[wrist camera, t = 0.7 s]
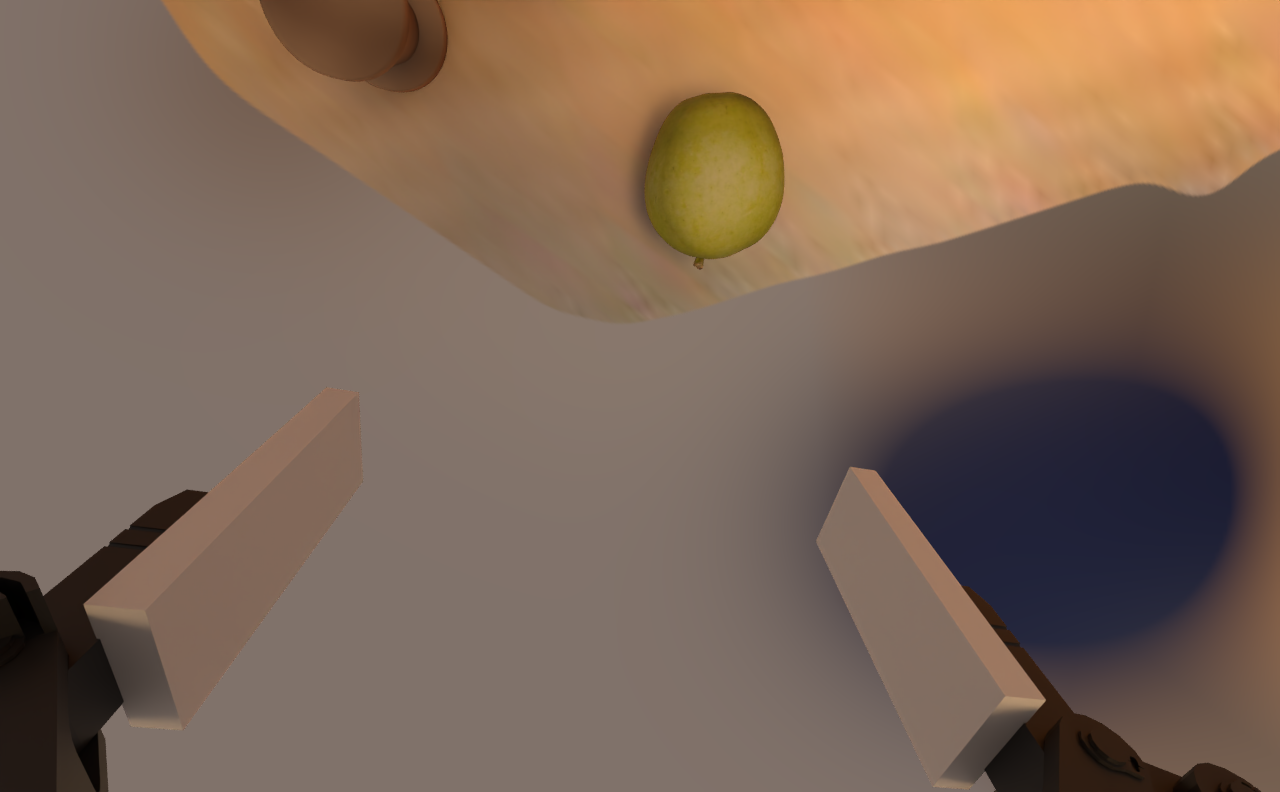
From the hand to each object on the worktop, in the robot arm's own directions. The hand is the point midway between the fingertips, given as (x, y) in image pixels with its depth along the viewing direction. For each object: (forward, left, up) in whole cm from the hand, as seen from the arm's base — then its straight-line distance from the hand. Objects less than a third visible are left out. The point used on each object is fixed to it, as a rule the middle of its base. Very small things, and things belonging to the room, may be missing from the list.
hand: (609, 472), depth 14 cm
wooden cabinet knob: (-11, -15, -24) cm, 30 cm away
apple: (-7, +4, -24) cm, 25 cm away
